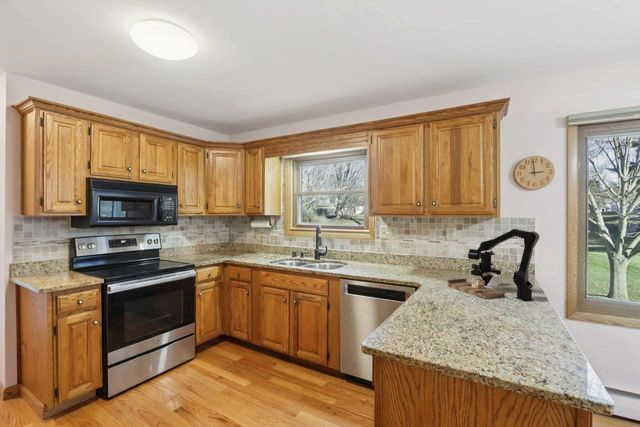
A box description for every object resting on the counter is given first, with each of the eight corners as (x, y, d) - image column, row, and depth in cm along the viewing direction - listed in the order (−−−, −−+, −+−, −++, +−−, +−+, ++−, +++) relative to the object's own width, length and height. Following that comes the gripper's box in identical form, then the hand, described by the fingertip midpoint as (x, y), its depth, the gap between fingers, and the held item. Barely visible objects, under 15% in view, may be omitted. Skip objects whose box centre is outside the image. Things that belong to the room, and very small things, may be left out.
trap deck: (504, 297, 176) (504, 289, 176) (484, 299, 172) (484, 291, 172) (465, 284, 205) (465, 278, 205) (447, 286, 200) (447, 279, 200)
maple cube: (484, 288, 187) (484, 280, 187) (478, 288, 185) (478, 280, 185) (477, 286, 192) (478, 278, 191) (471, 286, 190) (471, 279, 190)
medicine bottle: (498, 286, 202) (499, 268, 202) (488, 286, 202) (488, 268, 202) (493, 283, 209) (493, 266, 209) (482, 283, 209) (483, 266, 209)
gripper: (487, 258, 199) (486, 281, 199) (464, 259, 193) (464, 283, 193) (501, 261, 188) (501, 286, 188) (478, 262, 183) (477, 288, 183)
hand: (485, 285), depth 188 cm, fingers closed
